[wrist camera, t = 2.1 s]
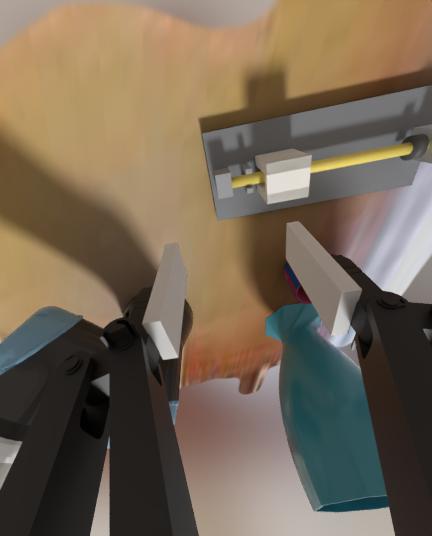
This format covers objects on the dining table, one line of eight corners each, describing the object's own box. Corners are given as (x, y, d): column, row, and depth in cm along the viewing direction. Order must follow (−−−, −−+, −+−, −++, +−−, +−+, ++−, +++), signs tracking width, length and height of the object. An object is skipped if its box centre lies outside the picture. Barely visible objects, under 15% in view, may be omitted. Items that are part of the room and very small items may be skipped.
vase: (336, 294, 47) (480, 485, 22) (321, 340, 57) (409, 507, 32) (259, 302, 47) (319, 499, 23) (258, 347, 57) (299, 516, 33)
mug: (277, 266, 41) (288, 289, 36) (325, 237, 38) (346, 257, 33) (292, 285, 45) (304, 309, 39) (337, 260, 41) (358, 282, 36)
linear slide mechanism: (217, 217, 35) (219, 233, 30) (202, 132, 28) (201, 136, 23) (403, 182, 33) (438, 193, 28) (437, 83, 26) (491, 75, 21)
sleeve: (257, 190, 31) (267, 204, 26) (255, 155, 28) (266, 164, 23) (291, 183, 31) (308, 196, 25) (292, 148, 28) (311, 154, 23)
